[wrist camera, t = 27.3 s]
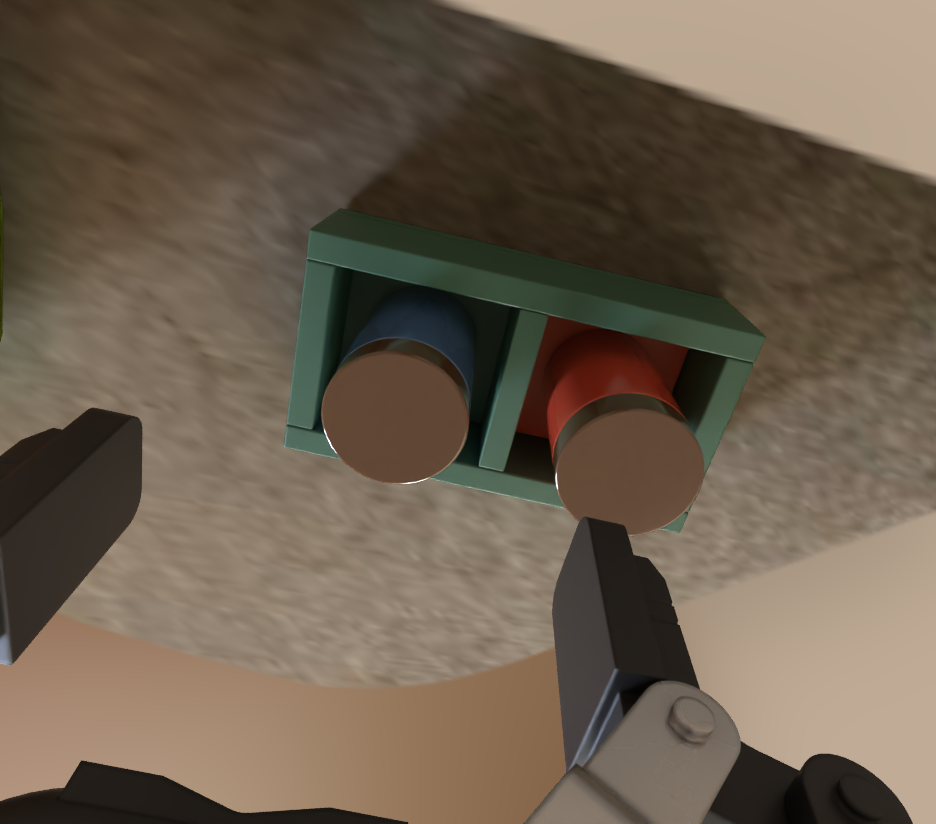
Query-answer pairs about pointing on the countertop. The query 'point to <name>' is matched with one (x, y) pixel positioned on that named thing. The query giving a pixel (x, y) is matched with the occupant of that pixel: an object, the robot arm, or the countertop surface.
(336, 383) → the blue and brown cylinder
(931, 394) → the countertop surface
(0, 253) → the corn
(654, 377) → the red pot
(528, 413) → the caddy
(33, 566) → the robot arm
